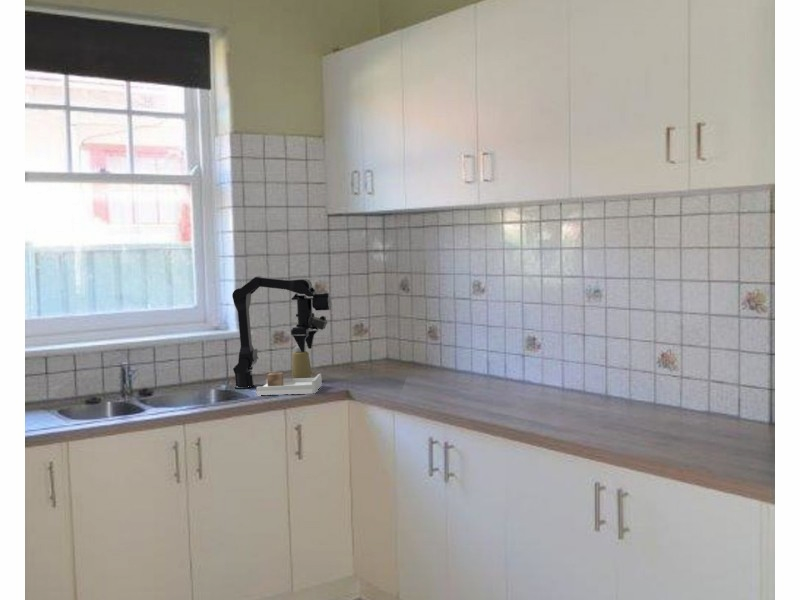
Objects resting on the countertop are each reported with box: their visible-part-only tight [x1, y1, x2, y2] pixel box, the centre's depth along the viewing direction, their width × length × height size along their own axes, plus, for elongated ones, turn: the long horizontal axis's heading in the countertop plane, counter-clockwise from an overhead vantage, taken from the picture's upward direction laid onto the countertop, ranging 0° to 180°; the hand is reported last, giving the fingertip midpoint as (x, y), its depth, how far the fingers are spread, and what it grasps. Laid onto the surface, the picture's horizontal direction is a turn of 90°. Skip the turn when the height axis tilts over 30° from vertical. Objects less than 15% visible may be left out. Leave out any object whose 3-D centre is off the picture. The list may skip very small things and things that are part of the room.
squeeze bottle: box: [291, 343, 312, 379], centre depth 351 cm, size 8×8×18 cm
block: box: [266, 372, 284, 386], centre depth 332 cm, size 5×5×5 cm
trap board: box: [256, 373, 323, 397], centre depth 332 cm, size 22×16×5 cm
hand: (306, 350), depth 342 cm, fingers open, 9 cm apart
